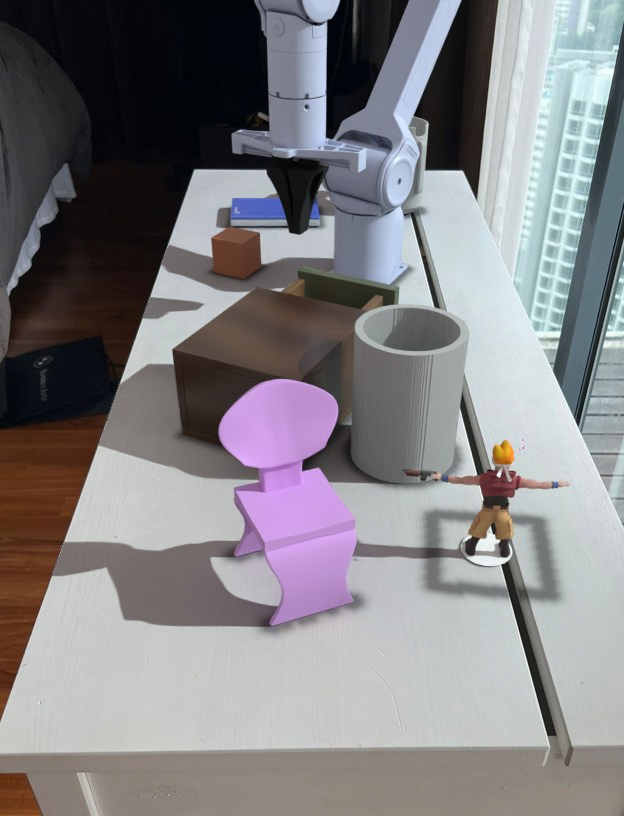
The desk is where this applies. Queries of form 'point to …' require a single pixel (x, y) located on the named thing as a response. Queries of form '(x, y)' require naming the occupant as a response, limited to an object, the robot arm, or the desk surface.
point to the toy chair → (291, 494)
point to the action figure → (491, 506)
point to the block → (236, 252)
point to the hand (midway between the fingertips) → (298, 231)
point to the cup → (406, 390)
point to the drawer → (343, 289)
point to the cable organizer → (417, 165)
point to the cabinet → (263, 356)
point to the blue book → (264, 212)
